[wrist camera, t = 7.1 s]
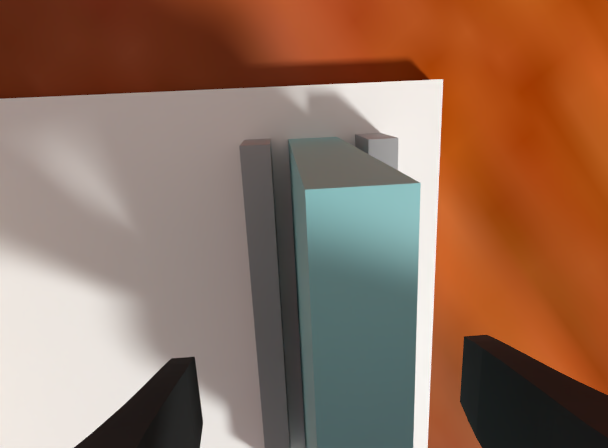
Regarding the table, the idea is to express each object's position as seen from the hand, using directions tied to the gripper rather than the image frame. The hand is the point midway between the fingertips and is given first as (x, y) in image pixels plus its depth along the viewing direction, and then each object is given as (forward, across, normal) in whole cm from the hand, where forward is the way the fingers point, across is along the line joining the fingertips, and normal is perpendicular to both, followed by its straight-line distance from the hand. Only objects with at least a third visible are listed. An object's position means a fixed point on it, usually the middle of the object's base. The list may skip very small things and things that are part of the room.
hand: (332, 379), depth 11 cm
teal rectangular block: (+4, 0, 0) cm, 4 cm away
